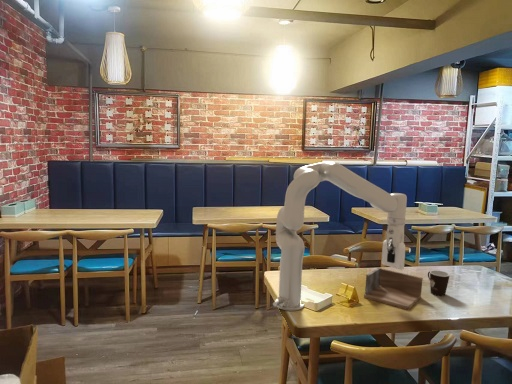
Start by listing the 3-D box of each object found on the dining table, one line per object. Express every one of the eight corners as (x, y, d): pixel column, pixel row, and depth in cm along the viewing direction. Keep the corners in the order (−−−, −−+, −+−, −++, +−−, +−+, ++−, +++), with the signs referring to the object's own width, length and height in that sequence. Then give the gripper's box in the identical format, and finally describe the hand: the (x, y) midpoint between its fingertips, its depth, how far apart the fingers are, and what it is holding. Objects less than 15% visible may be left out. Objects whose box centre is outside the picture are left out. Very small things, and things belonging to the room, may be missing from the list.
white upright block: (379, 264, 183) (381, 238, 182) (385, 262, 186) (387, 236, 184) (400, 270, 175) (402, 243, 174) (405, 268, 178) (407, 241, 176)
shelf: (408, 309, 172) (409, 286, 171) (363, 297, 184) (365, 275, 183) (420, 297, 186) (422, 275, 185) (379, 286, 198) (380, 266, 197)
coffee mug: (449, 298, 186) (451, 277, 185) (430, 296, 188) (432, 275, 187) (443, 288, 198) (445, 269, 196) (425, 287, 199) (426, 267, 198)
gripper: (397, 225, 169) (394, 267, 171) (410, 219, 182) (407, 258, 185) (380, 222, 173) (377, 263, 176) (394, 217, 187) (391, 255, 189)
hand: (393, 260), depth 180 cm, fingers closed on white upright block, 5 cm apart
